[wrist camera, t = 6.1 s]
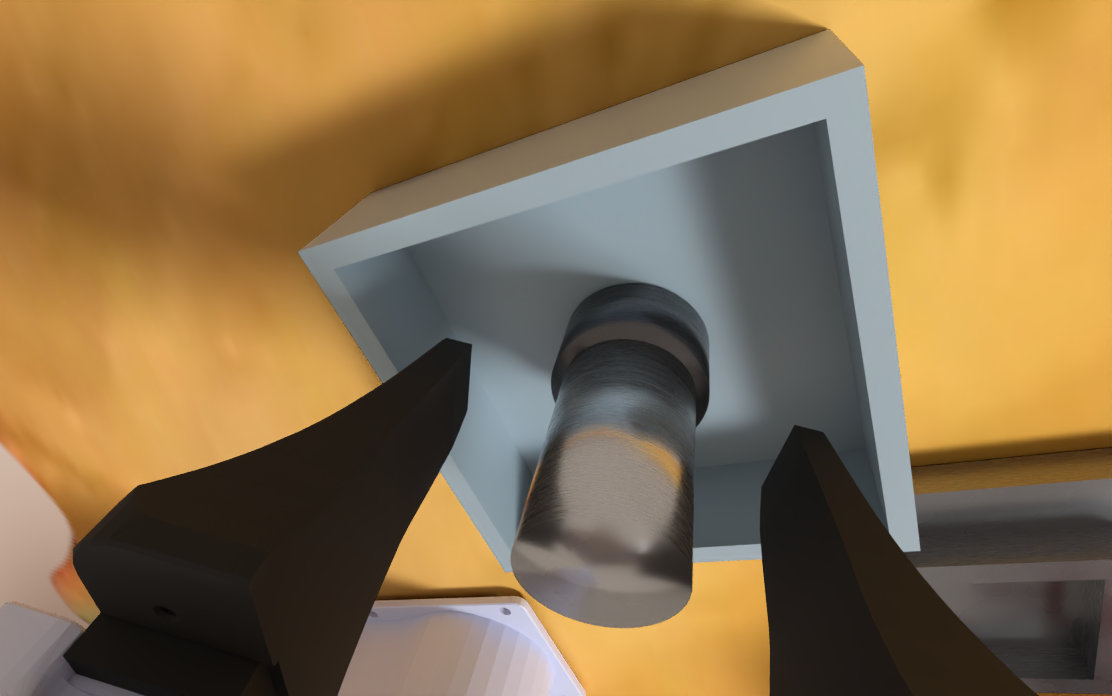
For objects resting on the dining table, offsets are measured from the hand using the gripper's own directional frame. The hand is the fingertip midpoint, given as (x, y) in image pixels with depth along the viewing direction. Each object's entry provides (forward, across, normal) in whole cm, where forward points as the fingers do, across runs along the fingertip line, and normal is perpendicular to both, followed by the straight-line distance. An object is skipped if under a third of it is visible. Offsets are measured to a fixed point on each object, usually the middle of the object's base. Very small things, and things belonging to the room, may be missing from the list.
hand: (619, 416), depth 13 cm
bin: (+4, 0, 0) cm, 4 cm away
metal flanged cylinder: (+3, 0, 0) cm, 3 cm away
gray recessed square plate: (+4, -12, +6) cm, 14 cm away
